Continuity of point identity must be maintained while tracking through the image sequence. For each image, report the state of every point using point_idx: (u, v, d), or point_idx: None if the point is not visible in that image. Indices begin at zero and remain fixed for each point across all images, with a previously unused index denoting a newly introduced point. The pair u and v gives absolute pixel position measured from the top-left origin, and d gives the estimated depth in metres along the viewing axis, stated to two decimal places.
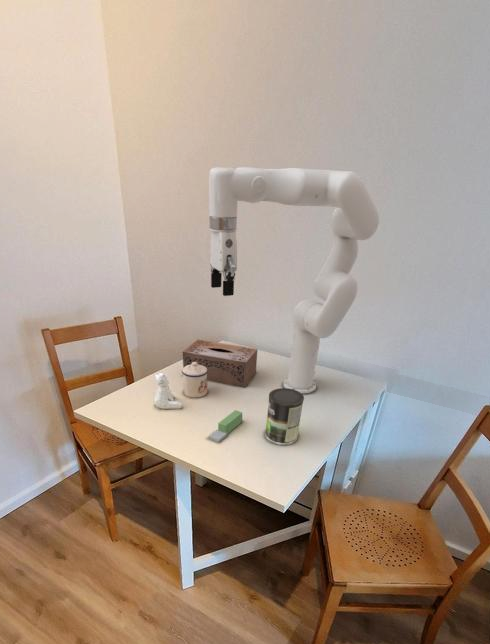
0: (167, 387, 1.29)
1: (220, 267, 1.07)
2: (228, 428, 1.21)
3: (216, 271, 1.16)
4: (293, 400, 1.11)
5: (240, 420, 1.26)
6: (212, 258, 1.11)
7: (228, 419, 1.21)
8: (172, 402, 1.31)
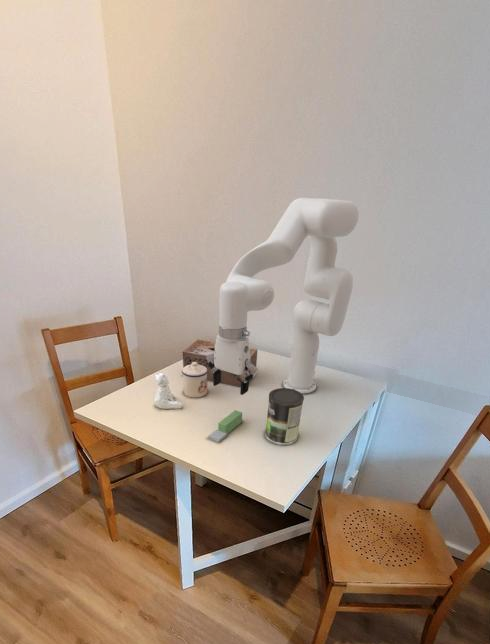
0: (167, 387, 1.29)
1: (238, 371, 1.09)
2: (228, 428, 1.21)
3: (217, 370, 1.15)
4: (293, 400, 1.11)
5: (240, 420, 1.26)
6: (220, 362, 1.10)
7: (228, 419, 1.21)
8: (172, 402, 1.31)
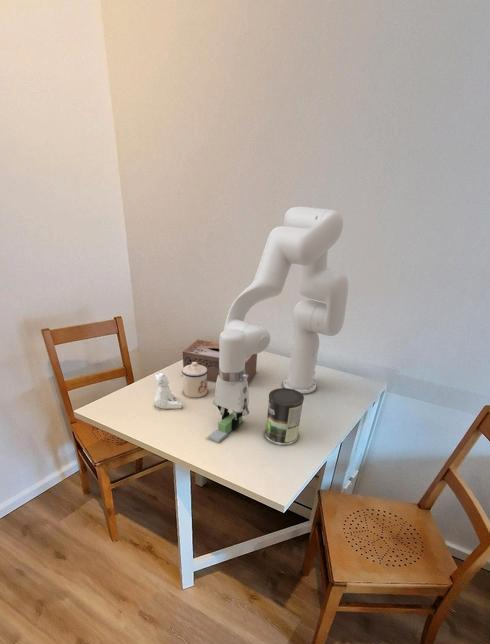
0: (167, 387, 1.29)
1: (237, 409, 1.16)
2: (228, 428, 1.21)
3: (226, 413, 1.22)
4: (293, 400, 1.11)
5: (240, 420, 1.26)
6: (221, 400, 1.18)
7: (228, 419, 1.21)
8: (172, 402, 1.31)
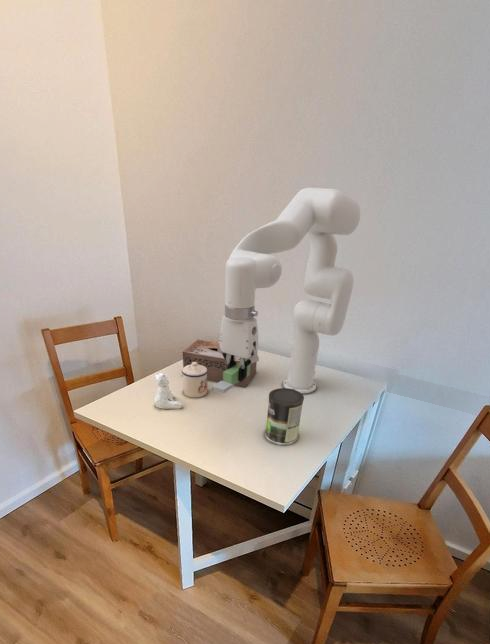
0: (167, 387, 1.29)
1: (245, 354, 1.02)
2: (235, 379, 1.07)
3: (232, 361, 1.08)
4: (293, 400, 1.11)
5: (248, 372, 1.12)
6: (227, 345, 1.03)
7: (235, 369, 1.07)
8: (172, 402, 1.31)
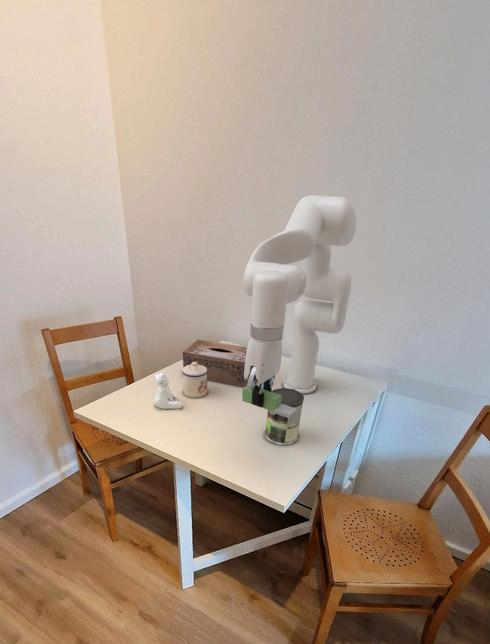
0: (167, 387, 1.29)
1: (278, 368, 0.95)
2: None
3: None
4: (293, 400, 1.11)
5: None
6: (267, 372, 0.90)
7: (266, 392, 0.96)
8: (172, 402, 1.31)
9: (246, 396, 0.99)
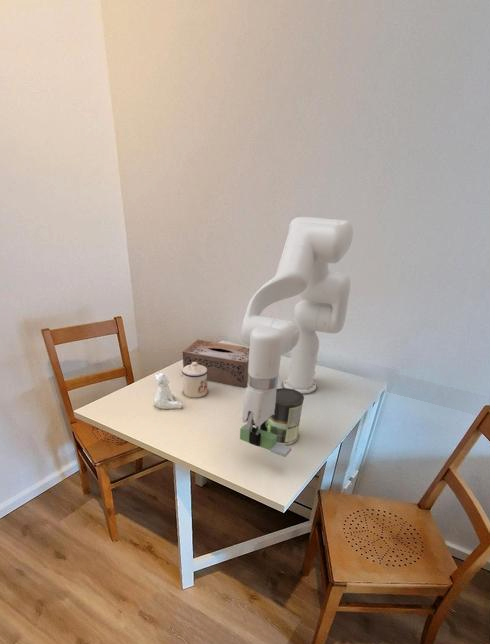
0: (167, 387, 1.29)
1: (273, 410, 1.02)
2: None
3: None
4: (293, 400, 1.11)
5: None
6: (264, 416, 0.98)
7: (262, 432, 1.04)
8: (172, 402, 1.31)
9: (243, 435, 1.06)
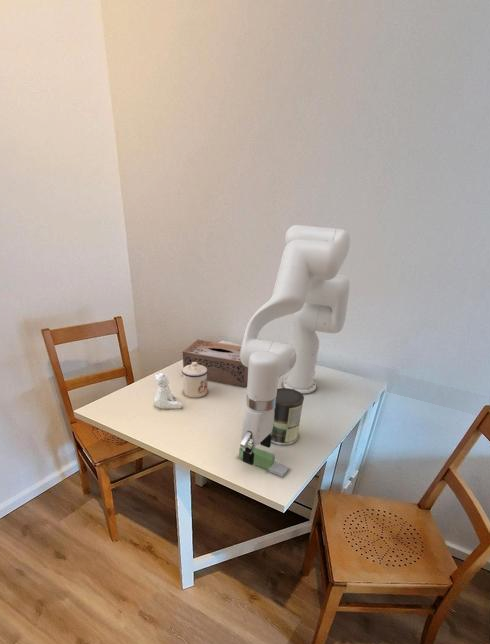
0: (167, 387, 1.29)
1: (271, 428, 1.06)
2: None
3: None
4: (293, 400, 1.11)
5: None
6: (262, 435, 1.01)
7: (261, 452, 1.08)
8: (172, 402, 1.31)
9: (242, 454, 1.10)
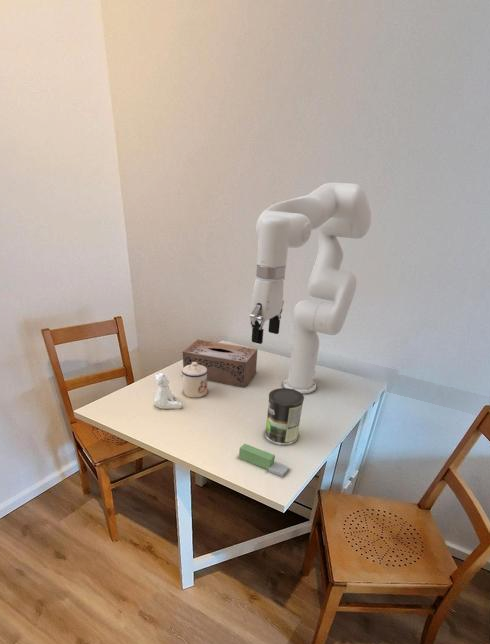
0: (167, 387, 1.29)
1: (280, 309, 1.07)
2: None
3: None
4: (293, 400, 1.11)
5: None
6: (271, 310, 1.02)
7: (261, 452, 1.08)
8: (172, 402, 1.31)
9: (242, 454, 1.10)
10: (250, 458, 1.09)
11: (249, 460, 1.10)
